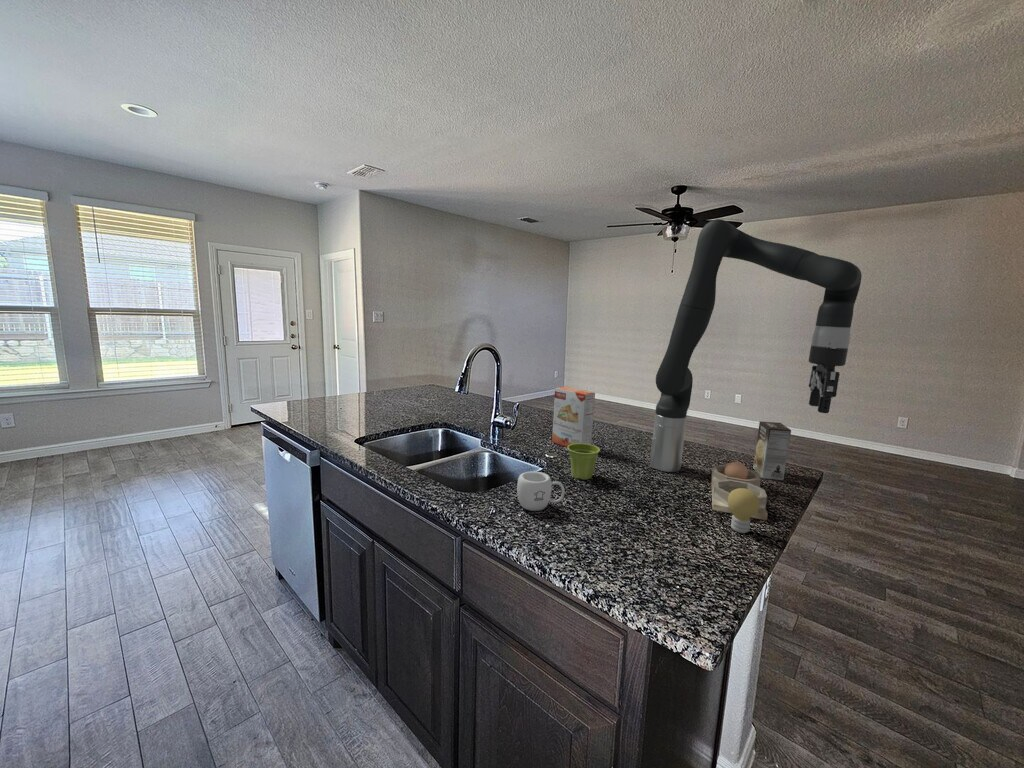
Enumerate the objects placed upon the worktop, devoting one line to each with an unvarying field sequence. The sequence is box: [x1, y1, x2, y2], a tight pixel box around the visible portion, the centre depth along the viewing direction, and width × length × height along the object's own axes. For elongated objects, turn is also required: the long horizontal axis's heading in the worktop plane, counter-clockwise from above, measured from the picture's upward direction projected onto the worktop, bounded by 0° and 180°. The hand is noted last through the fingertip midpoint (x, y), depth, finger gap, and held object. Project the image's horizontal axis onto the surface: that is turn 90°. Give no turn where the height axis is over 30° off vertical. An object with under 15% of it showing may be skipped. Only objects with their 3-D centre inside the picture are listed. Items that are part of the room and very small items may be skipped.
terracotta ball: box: [725, 461, 748, 480], centre depth 125 cm, size 6×6×6 cm
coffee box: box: [752, 420, 792, 481], centre depth 136 cm, size 9×6×16 cm
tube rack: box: [710, 464, 769, 521], centre depth 120 cm, size 12×26×4 cm, turn 157°
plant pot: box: [566, 443, 601, 481], centre depth 129 cm, size 9×9×9 cm
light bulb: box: [728, 488, 760, 534], centre depth 99 cm, size 6×6×10 cm
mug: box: [516, 470, 565, 512], centre depth 108 cm, size 12×8×8 cm
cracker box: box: [551, 386, 596, 448], centre depth 157 cm, size 14×6×21 cm, turn 43°
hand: (818, 409), depth 111 cm, fingers open, 8 cm apart
